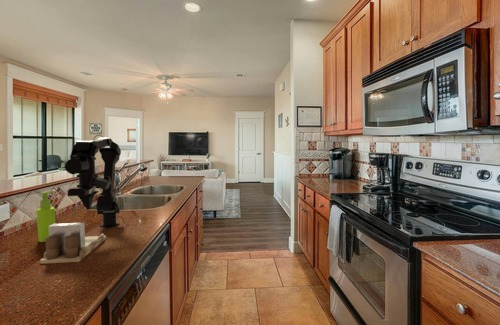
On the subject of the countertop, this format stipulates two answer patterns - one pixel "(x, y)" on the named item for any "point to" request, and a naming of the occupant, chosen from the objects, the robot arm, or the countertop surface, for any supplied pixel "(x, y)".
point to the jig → (69, 248)
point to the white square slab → (67, 230)
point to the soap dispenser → (45, 216)
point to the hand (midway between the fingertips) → (88, 209)
